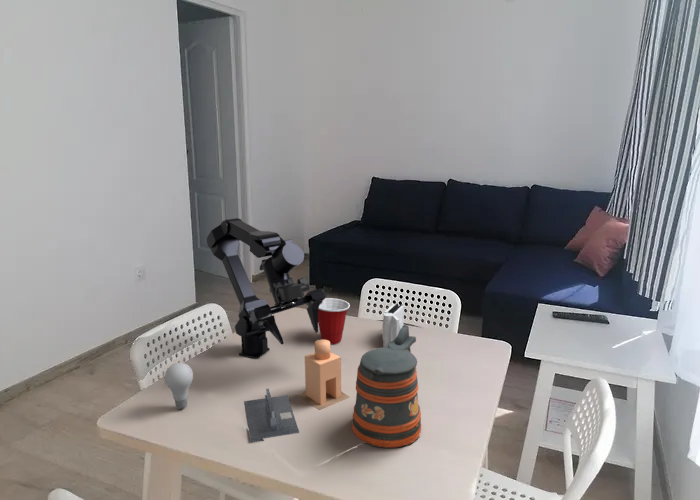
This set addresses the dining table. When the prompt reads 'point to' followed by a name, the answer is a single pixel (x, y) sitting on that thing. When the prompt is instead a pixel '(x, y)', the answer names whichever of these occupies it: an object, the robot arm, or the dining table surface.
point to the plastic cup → (332, 319)
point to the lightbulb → (179, 382)
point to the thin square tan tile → (329, 400)
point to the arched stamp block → (322, 373)
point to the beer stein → (388, 395)
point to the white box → (392, 323)
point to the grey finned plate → (270, 417)
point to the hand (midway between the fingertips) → (300, 338)
